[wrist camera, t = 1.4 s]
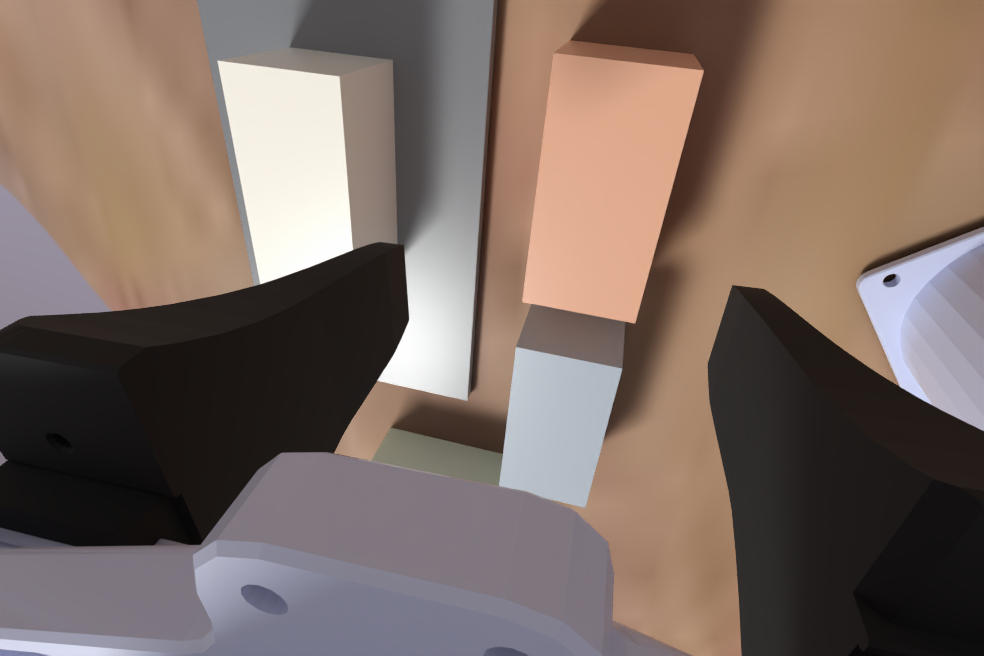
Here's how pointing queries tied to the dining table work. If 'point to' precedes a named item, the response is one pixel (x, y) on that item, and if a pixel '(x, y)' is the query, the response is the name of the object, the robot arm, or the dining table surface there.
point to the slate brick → (560, 402)
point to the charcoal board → (401, 148)
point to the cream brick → (312, 153)
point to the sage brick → (439, 457)
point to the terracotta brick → (606, 174)
